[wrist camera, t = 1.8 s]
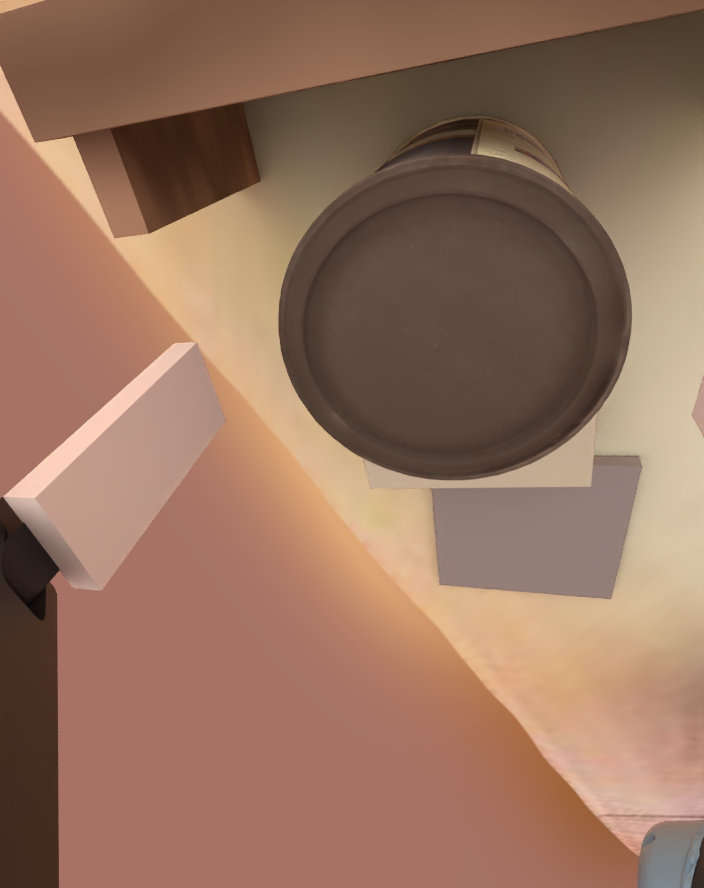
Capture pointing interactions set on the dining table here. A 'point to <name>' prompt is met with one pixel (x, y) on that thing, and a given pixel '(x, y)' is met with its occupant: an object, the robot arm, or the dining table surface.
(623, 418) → the dining table surface
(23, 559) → the robot arm
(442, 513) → the slate mat
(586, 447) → the upper offcut
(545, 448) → the coffee can
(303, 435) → the dining table surface
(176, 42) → the walnut rack
